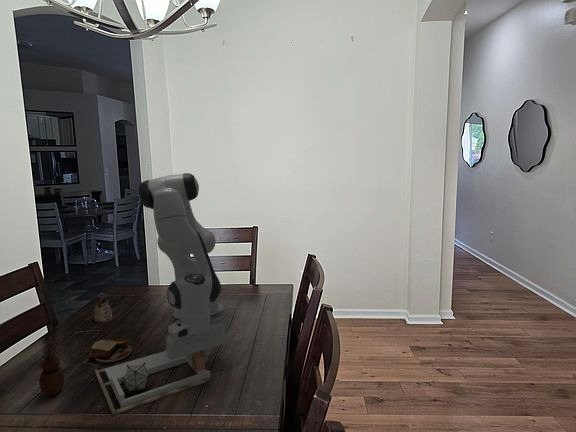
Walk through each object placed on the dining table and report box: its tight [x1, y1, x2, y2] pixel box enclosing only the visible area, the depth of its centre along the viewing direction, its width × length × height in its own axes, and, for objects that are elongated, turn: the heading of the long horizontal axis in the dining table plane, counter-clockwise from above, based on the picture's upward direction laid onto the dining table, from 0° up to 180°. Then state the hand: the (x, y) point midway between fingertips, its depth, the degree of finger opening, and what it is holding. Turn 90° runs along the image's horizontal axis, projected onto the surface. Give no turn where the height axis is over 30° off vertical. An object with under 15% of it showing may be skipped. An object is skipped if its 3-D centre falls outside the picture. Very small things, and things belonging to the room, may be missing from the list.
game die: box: [121, 362, 152, 395], centre depth 118 cm, size 9×8×10 cm
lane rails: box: [94, 350, 210, 416], centre depth 125 cm, size 29×26×1 cm
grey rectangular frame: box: [109, 351, 212, 409], centre depth 122 cm, size 27×14×5 cm, turn 126°
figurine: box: [93, 292, 113, 324], centre depth 169 cm, size 7×7×12 cm
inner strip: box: [104, 350, 174, 382], centre depth 131 cm, size 24×8×6 cm, turn 126°
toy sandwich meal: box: [89, 339, 133, 364], centre depth 139 cm, size 12×14×5 cm
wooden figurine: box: [38, 342, 66, 397], centre depth 116 cm, size 7×6×15 cm
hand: (198, 362), depth 129 cm, fingers closed on grey rectangular frame, 3 cm apart
